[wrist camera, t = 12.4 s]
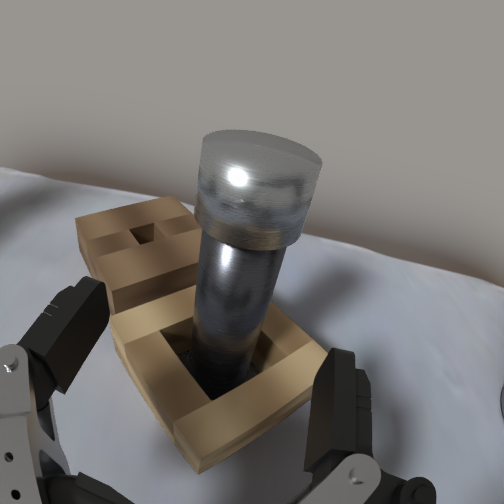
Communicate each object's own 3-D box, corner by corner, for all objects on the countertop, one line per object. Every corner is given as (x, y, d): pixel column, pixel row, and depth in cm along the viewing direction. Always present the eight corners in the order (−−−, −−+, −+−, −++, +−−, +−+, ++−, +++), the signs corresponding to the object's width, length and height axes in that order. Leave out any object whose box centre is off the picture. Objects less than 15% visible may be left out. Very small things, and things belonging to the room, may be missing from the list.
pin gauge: (223, 341, 23) (267, 128, 14) (263, 385, 20) (345, 167, 11) (170, 366, 20) (180, 132, 11) (208, 418, 18) (256, 179, 9)
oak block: (231, 302, 26) (238, 269, 24) (319, 391, 20) (339, 363, 18) (115, 350, 20) (108, 316, 18) (198, 474, 14) (200, 458, 12)
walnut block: (170, 225, 33) (172, 195, 31) (226, 283, 28) (232, 250, 26) (79, 250, 27) (75, 218, 25) (117, 325, 22) (111, 291, 20)
